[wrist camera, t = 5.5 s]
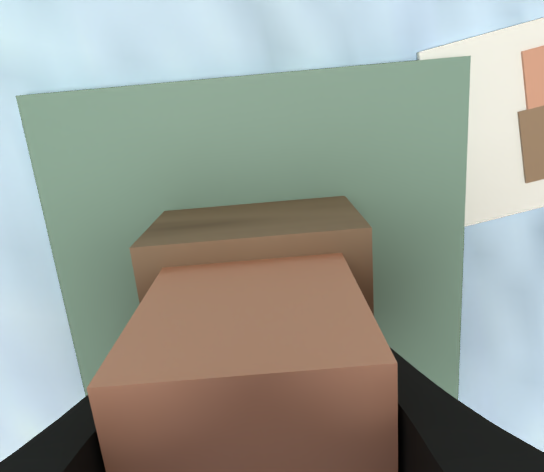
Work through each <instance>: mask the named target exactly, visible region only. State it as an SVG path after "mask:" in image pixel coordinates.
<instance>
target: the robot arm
mask: <svg viewBox="0 0 544 472" xmlns="http://www.w3.org/2000/svg"><path fill="white" fill-rule="evenodd" d="M390 349H391V351H392V353H393V355H394V357H395V359H396V361H397V363H398V472H544V452H542V451H540V450H538V449H536V448H535V447H533V446H531V445H529V444H528V443H526V442H524V441H522V440H521V439H519V438H517V437H515V436H513V435H512V434H510V433H508V432H506V431H505V430H503V429H501V428H500V427H498V426H496V425H495V424H493V423H492V422H490V421H488V420H487V419H485V418H484V417H482V416H481V415H479V414H478V413H476V412H475V411H473V410H472V409H470V408H469V407H467V406H466V405H464V404H463V403H461V402H460V401H458V400H457V399H456V398H454V397H453V396H451V395H450V394H449V393H447V392H446V391H445V390H443V389H442V388H440V387H439V386H438V385H436V384H435V383H434V382H433V381H431V380H430V379H429V378H427V377H426V376H425V375H424V374H422V373H421V372H420V371H418V370H417V369H416V368H415V367H414V366H412V365H411V364H410V363H409V362H407V361H406V360H405V359H404V358H403V357H401V356H400V355H399V354H398V353H397V352H395V351H394V350H393V349H392V348H390ZM0 472H106V470H105V466H104V461H103V457H102V453H101V448H100V444H99V440H98V435H97V431H96V427H95V423H94V418H93V414H92V410H91V405H90V401H89V397H88V395H87V396H86V397H85V398H83V399H82V400H81V401H80V402H79V403H77V404H76V405H75V406H74V407H72V408H71V409H70V410H69V411H68V412H66V413H65V414H64V415H63V416H61V417H60V418H59V419H58V420H56V421H55V422H54V423H52V424H51V425H50V426H48V427H47V428H46V429H45V430H43V431H42V432H41V433H39V434H38V435H37V436H35V437H34V438H33V439H31V440H30V441H29V442H27V443H26V444H25V445H23V446H22V447H21V448H20V449H18V450H17V451H16V452H14V453H13V454H11V455H10V456H8V457H7V458H6V459H4V460H3V461H1V462H0Z"/></svg>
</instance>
